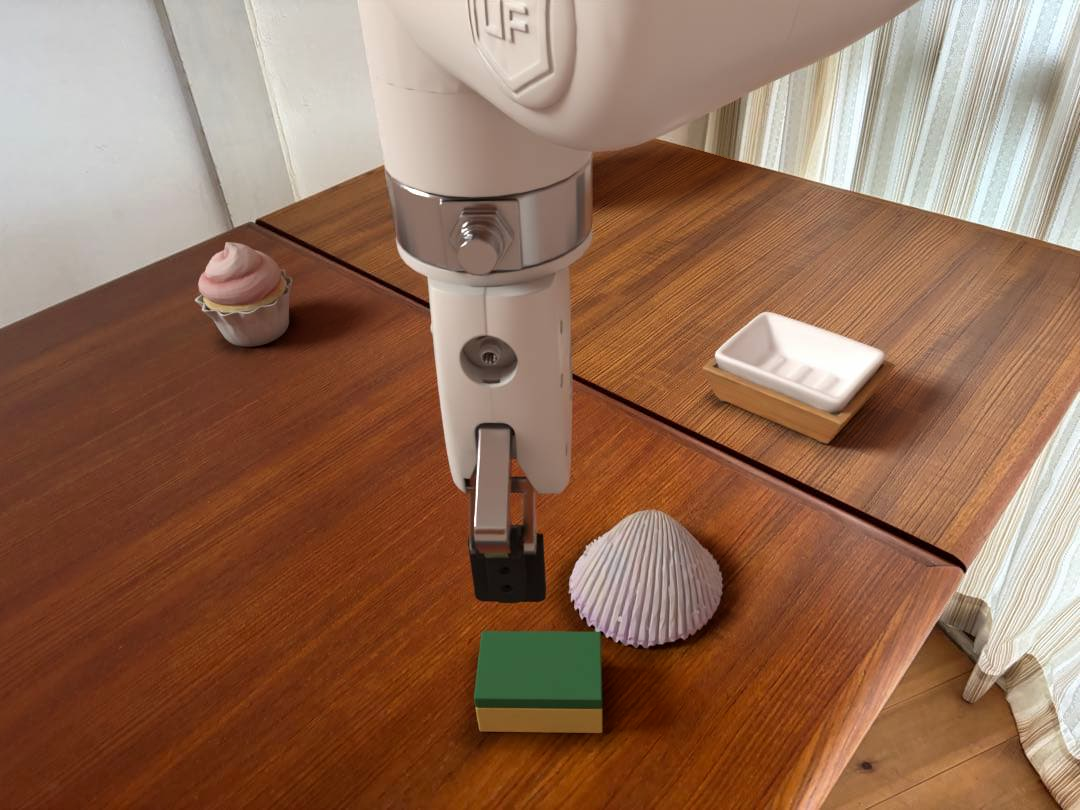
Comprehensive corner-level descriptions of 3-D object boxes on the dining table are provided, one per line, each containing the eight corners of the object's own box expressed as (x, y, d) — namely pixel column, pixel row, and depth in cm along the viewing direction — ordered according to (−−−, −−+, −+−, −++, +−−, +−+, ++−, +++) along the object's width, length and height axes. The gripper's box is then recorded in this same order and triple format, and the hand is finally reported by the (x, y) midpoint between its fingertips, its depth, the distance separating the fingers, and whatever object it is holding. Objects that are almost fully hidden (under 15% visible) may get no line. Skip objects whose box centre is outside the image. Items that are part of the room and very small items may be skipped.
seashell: (726, 500, 59) (731, 590, 50) (718, 564, 62) (722, 660, 53) (581, 486, 61) (561, 571, 52) (578, 549, 63) (559, 641, 54)
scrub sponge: (601, 665, 53) (600, 630, 51) (602, 733, 49) (602, 699, 47) (486, 664, 53) (481, 630, 51) (479, 732, 50) (473, 698, 47)
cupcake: (206, 318, 88) (176, 230, 81) (297, 298, 90) (274, 211, 84) (211, 367, 81) (178, 275, 74) (309, 344, 83) (285, 253, 77)
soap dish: (887, 399, 72) (899, 350, 69) (834, 460, 66) (845, 410, 63) (756, 349, 79) (762, 302, 75) (698, 401, 73) (702, 352, 70)
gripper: (594, 330, 25) (594, 670, 35) (591, 115, 38) (592, 409, 49) (341, 332, 25) (417, 667, 36) (426, 119, 39) (463, 409, 49)
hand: (518, 518), depth 42 cm, fingers open, 9 cm apart
